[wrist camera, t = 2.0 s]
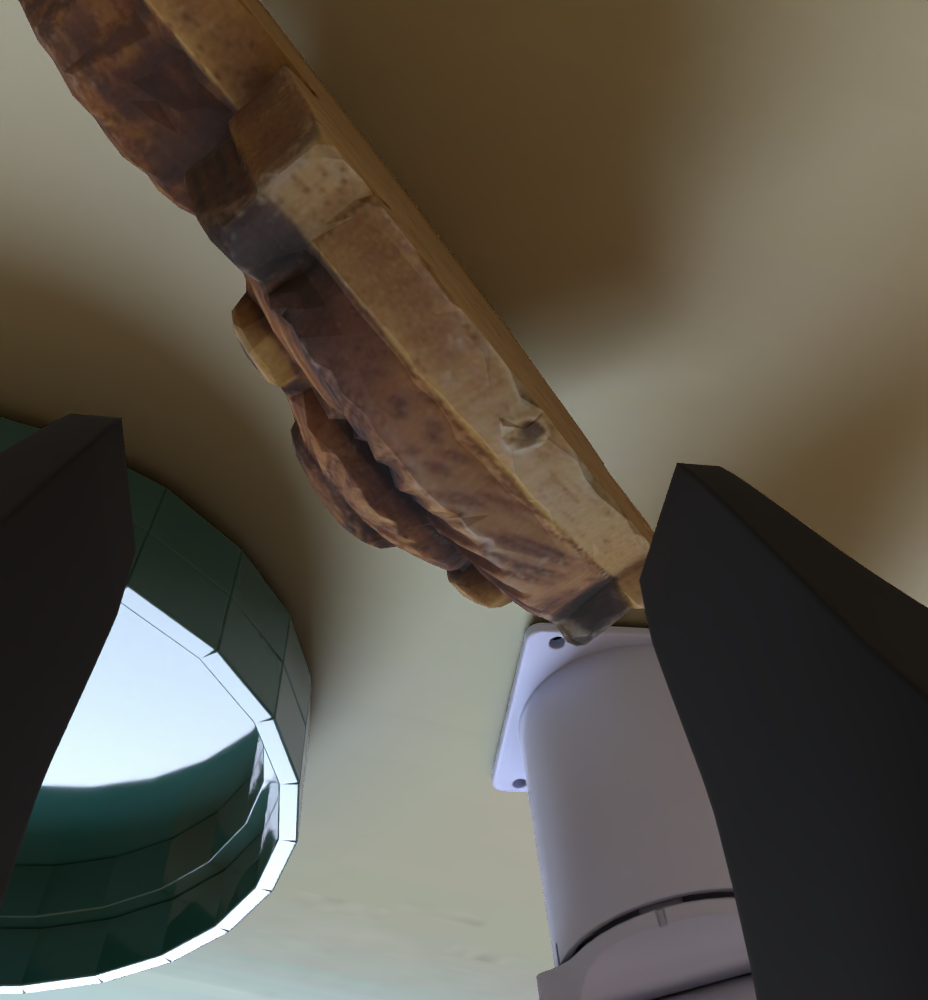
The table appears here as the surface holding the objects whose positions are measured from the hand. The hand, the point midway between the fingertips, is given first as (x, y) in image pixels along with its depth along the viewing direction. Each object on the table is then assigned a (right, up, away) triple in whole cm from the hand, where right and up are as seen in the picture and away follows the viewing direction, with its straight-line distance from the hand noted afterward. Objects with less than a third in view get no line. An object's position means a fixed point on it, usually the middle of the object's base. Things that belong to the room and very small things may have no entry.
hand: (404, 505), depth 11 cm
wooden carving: (-1, +6, +9) cm, 11 cm away
